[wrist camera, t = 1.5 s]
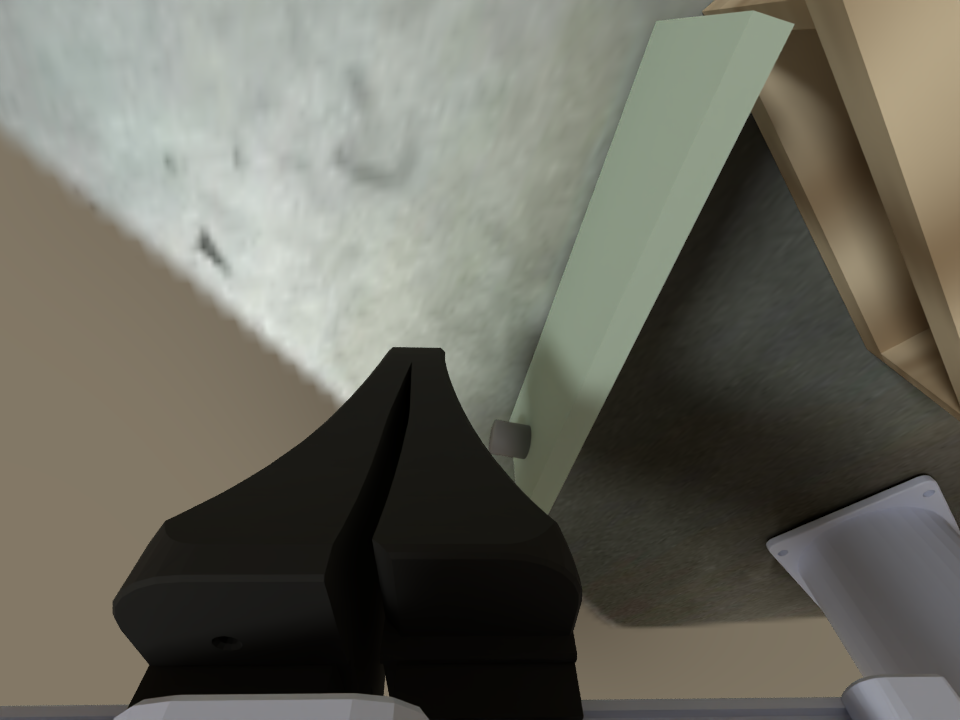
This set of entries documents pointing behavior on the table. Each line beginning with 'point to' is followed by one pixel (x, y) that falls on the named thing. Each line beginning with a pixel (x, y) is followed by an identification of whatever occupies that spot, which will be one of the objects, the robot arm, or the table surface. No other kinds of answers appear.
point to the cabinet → (876, 167)
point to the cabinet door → (635, 230)
